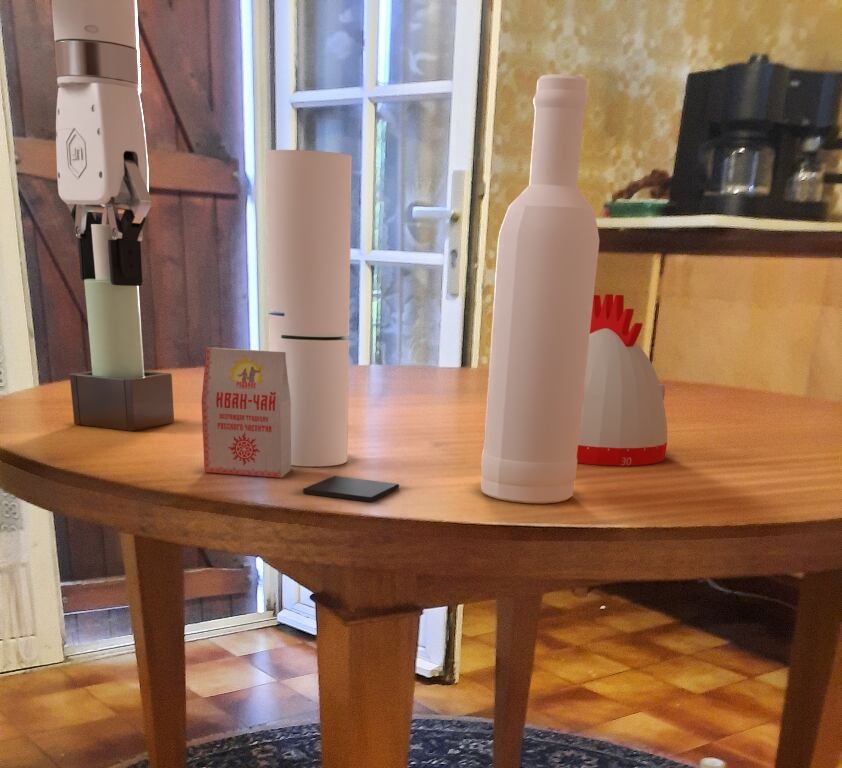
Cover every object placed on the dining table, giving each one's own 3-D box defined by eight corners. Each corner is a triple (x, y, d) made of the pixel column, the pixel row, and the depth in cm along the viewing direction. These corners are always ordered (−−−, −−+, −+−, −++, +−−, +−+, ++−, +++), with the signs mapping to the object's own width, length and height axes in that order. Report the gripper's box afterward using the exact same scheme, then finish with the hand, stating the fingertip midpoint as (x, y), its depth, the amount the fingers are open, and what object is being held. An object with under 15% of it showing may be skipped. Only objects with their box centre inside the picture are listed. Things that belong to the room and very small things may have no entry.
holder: (73, 424, 111) (69, 373, 109) (116, 415, 117) (112, 367, 115) (134, 431, 109) (131, 380, 107) (174, 422, 115) (171, 373, 113)
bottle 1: (83, 395, 110) (68, 223, 103) (113, 389, 115) (100, 224, 108) (126, 400, 109) (113, 225, 102) (155, 394, 113) (144, 226, 106)
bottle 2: (588, 493, 91) (634, 83, 78) (548, 509, 85) (590, 67, 72) (506, 479, 95) (537, 86, 82) (461, 493, 89) (487, 71, 76)
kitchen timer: (602, 437, 119) (619, 291, 112) (693, 460, 108) (717, 300, 102) (502, 444, 112) (514, 288, 105) (588, 469, 101) (608, 298, 95)
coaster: (302, 493, 86) (302, 488, 86) (334, 480, 92) (334, 475, 91) (371, 502, 85) (371, 497, 84) (399, 488, 90) (399, 483, 90)
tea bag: (217, 464, 95) (212, 345, 91) (291, 469, 95) (290, 350, 91) (204, 472, 92) (199, 349, 88) (281, 477, 92) (279, 354, 87)
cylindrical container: (314, 449, 104) (314, 157, 94) (363, 461, 100) (369, 156, 89) (255, 456, 100) (248, 150, 89) (303, 469, 95) (302, 148, 84)
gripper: (18, 71, 102) (36, 277, 110) (107, 57, 91) (120, 288, 99) (90, 83, 107) (103, 280, 115) (183, 71, 96) (190, 290, 104)
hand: (111, 281), depth 107 cm, fingers closed on bottle 1, 5 cm apart
